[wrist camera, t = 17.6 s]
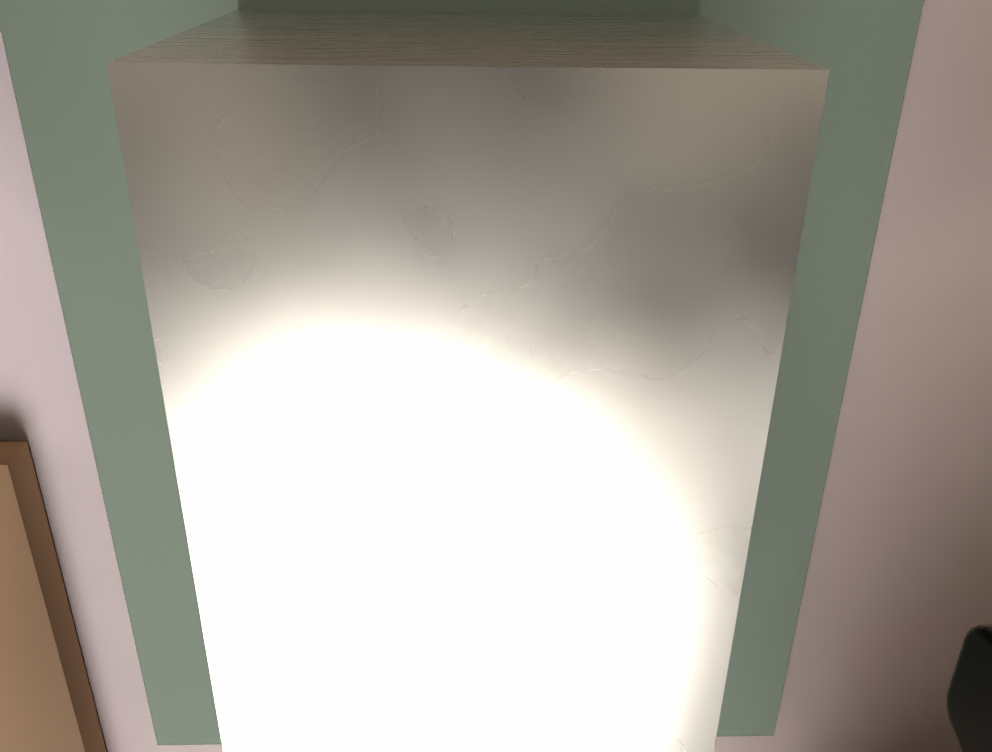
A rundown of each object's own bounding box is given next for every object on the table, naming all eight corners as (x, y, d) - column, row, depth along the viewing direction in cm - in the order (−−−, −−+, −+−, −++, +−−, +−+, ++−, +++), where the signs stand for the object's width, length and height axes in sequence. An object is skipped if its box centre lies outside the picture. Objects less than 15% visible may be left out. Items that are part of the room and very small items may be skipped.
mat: (927, -83, 10) (941, -83, 10) (767, 721, 15) (773, 735, 15) (-13, -94, 10) (-27, -94, 9) (163, 730, 15) (156, 744, 15)
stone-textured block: (700, 14, 10) (830, 70, 6) (628, 691, 14) (681, 945, 11) (238, 9, 10) (107, 63, 6) (310, 695, 14) (258, 953, 11)
